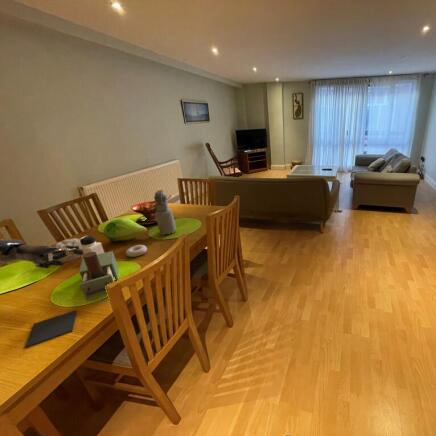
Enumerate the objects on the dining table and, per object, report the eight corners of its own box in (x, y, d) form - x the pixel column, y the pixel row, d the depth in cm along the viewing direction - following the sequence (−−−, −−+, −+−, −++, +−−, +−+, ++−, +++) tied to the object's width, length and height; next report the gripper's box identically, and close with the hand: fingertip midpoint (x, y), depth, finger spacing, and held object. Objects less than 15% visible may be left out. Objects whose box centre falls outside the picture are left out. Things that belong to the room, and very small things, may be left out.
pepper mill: (107, 287, 104) (95, 255, 98) (94, 290, 102) (82, 258, 95) (107, 281, 107) (96, 250, 101) (95, 285, 105) (83, 253, 99)
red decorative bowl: (172, 211, 196) (168, 192, 190) (178, 220, 177) (174, 200, 171) (132, 219, 181) (126, 199, 175) (135, 230, 163) (128, 207, 156)
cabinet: (118, 280, 111) (112, 263, 107) (86, 290, 105) (79, 272, 101) (118, 267, 121) (112, 250, 118) (89, 275, 115) (82, 258, 112)
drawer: (116, 296, 100) (111, 280, 97) (85, 306, 94) (78, 290, 92) (116, 276, 113) (111, 262, 110) (88, 284, 107) (82, 269, 104)
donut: (150, 248, 139) (131, 249, 138) (149, 243, 138) (129, 244, 136) (143, 257, 130) (123, 259, 129) (142, 251, 129) (121, 253, 127)
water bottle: (174, 234, 156) (165, 193, 145) (158, 236, 153) (148, 194, 143) (177, 228, 165) (169, 189, 154) (161, 230, 162) (152, 190, 152)
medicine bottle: (105, 253, 134) (98, 234, 130) (94, 260, 128) (87, 240, 123) (93, 253, 135) (85, 233, 130) (81, 259, 128) (74, 240, 123)
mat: (72, 331, 85) (72, 330, 84) (25, 348, 78) (24, 347, 78) (76, 310, 94) (76, 309, 93) (34, 324, 87) (33, 323, 87)
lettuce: (150, 234, 161) (143, 248, 149) (111, 231, 155) (100, 245, 142) (149, 215, 155) (142, 228, 142) (109, 211, 148) (97, 224, 135)
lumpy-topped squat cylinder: (87, 248, 139) (82, 235, 136) (79, 259, 128) (73, 245, 125) (65, 252, 136) (59, 238, 132) (54, 263, 124) (47, 249, 121)
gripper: (17, 255, 95) (50, 258, 93) (55, 239, 108) (85, 241, 106) (25, 271, 98) (57, 274, 96) (61, 253, 111) (91, 256, 109)
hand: (72, 257), depth 101 cm, fingers open, 8 cm apart
